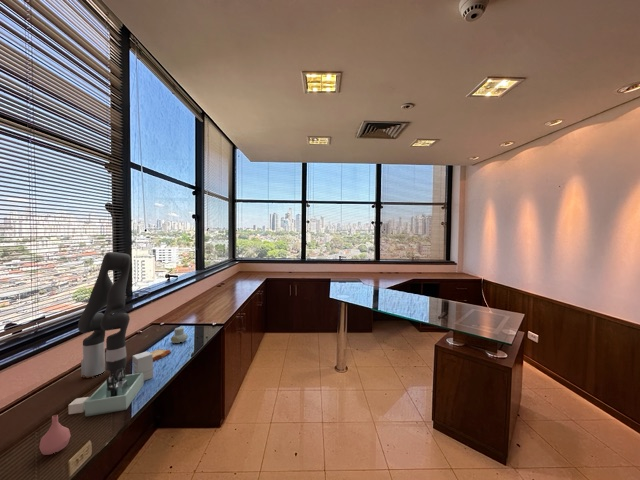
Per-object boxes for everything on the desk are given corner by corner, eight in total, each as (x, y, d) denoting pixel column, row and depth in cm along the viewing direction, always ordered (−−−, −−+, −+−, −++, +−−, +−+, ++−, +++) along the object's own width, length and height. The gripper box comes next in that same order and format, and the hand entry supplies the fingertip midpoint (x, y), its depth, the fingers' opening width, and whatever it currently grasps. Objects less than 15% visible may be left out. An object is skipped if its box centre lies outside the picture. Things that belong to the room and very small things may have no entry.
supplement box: (148, 373, 148) (147, 350, 148) (153, 377, 143) (153, 353, 143) (132, 379, 142) (132, 355, 142) (137, 383, 137) (136, 358, 137)
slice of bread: (135, 368, 156) (135, 361, 156) (138, 357, 171) (138, 351, 171) (171, 360, 165) (171, 354, 165) (170, 350, 180) (170, 345, 180)
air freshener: (168, 343, 193) (168, 329, 193) (178, 339, 201) (177, 326, 201) (180, 344, 190) (180, 330, 190) (189, 340, 198) (189, 327, 198)
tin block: (106, 400, 120) (106, 388, 120) (112, 392, 126) (112, 382, 126) (121, 397, 122) (121, 386, 122) (127, 390, 128) (127, 380, 128)
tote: (85, 416, 111) (84, 402, 112) (109, 389, 132) (109, 377, 132) (126, 409, 116) (125, 395, 116) (143, 384, 136) (143, 372, 136)
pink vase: (51, 461, 88) (50, 424, 89) (32, 458, 90) (32, 422, 90) (76, 444, 96) (76, 410, 96) (59, 441, 97) (58, 408, 97)
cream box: (68, 414, 113) (68, 405, 114) (76, 407, 118) (76, 398, 118) (82, 412, 115) (82, 403, 115) (89, 405, 120) (89, 396, 120)
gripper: (113, 352, 130) (114, 387, 130) (98, 365, 116) (99, 404, 116) (131, 350, 132) (132, 384, 132) (119, 362, 118) (119, 400, 118)
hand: (117, 393), depth 124 cm, fingers closed on tin block, 6 cm apart
